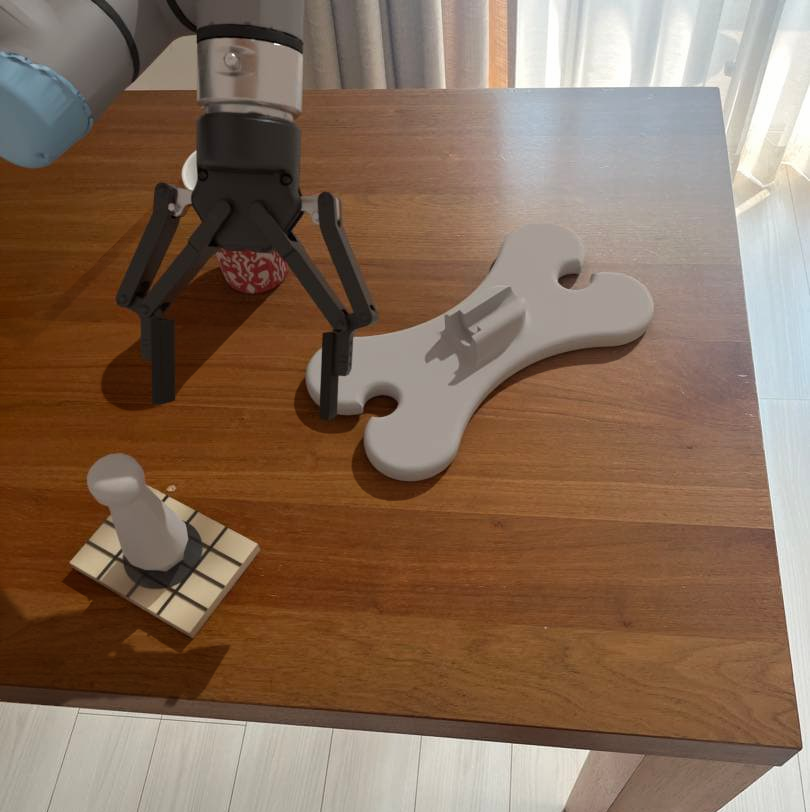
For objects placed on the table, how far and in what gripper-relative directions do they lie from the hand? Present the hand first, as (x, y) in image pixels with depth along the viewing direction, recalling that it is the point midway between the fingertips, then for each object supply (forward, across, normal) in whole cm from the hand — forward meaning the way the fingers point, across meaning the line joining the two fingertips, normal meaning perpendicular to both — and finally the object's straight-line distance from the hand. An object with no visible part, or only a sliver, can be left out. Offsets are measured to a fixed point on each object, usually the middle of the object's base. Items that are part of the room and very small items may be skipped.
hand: (244, 410), depth 70 cm
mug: (-12, -10, +32) cm, 36 cm away
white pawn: (+14, -9, +4) cm, 17 cm away
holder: (-4, +16, +24) cm, 30 cm away
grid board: (+15, -9, +5) cm, 18 cm away
